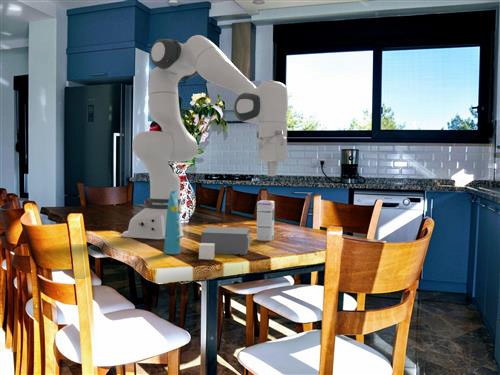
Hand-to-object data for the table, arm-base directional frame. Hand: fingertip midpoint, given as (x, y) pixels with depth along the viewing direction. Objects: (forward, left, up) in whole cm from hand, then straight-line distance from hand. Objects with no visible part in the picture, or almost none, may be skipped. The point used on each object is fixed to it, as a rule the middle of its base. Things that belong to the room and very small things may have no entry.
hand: (271, 176), depth 145 cm
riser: (-18, -14, -24) cm, 33 cm away
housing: (-14, 0, -24) cm, 28 cm away
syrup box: (-2, +24, -24) cm, 34 cm away
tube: (-29, -9, -24) cm, 39 cm away
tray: (-13, 0, -23) cm, 26 cm away
